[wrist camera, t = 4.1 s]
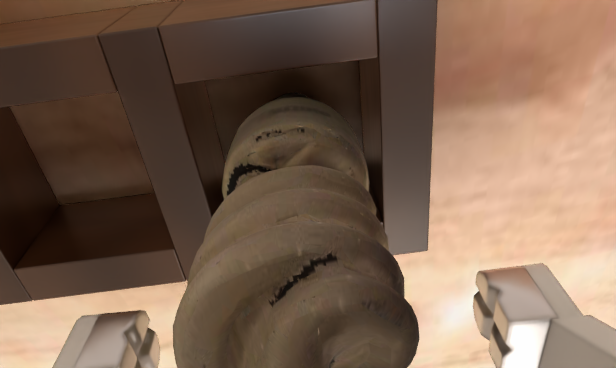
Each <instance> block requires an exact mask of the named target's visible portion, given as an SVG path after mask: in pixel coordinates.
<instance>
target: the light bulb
mask: <svg viewBox="0 0 616 368" xmlns="http://www.w3.org/2000/svg"><path fill="white" fill-rule="evenodd" d="M222 193H223V197H224V201H223V202H222V203H221V205H220V206H219V207H218V209H217V210H216V212H215V213H214V215H213V216H212V218H211V221H210V223H209V225H208V228H207V230H206V234H205V237H204V242H203V244H202V245H201V246H200V248H199V249H198V251H197V253H196V256H195V258H194V261H193V264H192V266H191V269H190V273H189V277H188V285H187V289H186V291H185V293H184V295H183V297H182V300H181V302H180V305H179V308H178V310H177V314H176V317H175V321H174V325H173V348H174V354H175V360H176V364H177V368H407V367H408V366H409V365H410V364H411V362H412V360H413V358H414V356H415V354H416V350H417V346H418V342H419V328H418V322H417V317H416V315H415V313H414V311H413V309H412V307H411V305H410V304H409V303H408V302H407V301H406V300H405V299H404V277H403V275H402V272H401V270H400V267H399V265H398V263H397V261H396V260H395V258H394V257H393V256H392V254H391V253H390V252H389V246H388V237H387V235H386V233H385V230H384V228H383V226H382V224H381V223H380V221H379V220H378V218H377V217H376V210H377V209H376V206H375V204H374V202H373V199H372V197H371V195H370V193H369V176H368V169H367V165H366V160H365V156H364V154H363V151H362V149H361V147H360V145H359V143H358V140H357V138H356V135H355V133H354V131H353V130H352V128H351V126H350V125H349V124H348V122H347V121H346V120H345V118H344V117H343V116H341V115H340V114H339V113H338V112H337V111H335V110H334V109H333V108H332V107H330V106H328V105H326V104H324V103H322V102H320V101H317V100H314V99H311V98H308V97H307V96H306V95H304V94H300V93H289V94H285V95H282V96H281V97H279V98H277V99H275V100H274V101H271V102H268V103H266V104H264V105H263V106H261V107H260V108H258V109H257V110H255V111H254V112H253V113H252V114H250V115H249V116H248V117H247V118H246V120H245V121H244V122H243V123H242V124H241V125H240V126H239V128H238V130H237V133H236V135H235V137H234V139H233V141H232V143H231V146H230V149H229V152H228V155H227V158H226V162H225V167H224V174H223V181H222Z"/></svg>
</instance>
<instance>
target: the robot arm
mask: <svg viewBox="0 0 616 368" xmlns="http://www.w3.org/2000/svg"><path fill="white" fill-rule="evenodd" d="M476 285H477V287H478V289H479V291H478V292H477V293H476V294H475V295H474V301H473V309H474V316H475V320H476V323H477V326H478V329H479V331H480V333H481V335H482V336H484V337H485V338H486V339H488V340H489V341H490V344H489V353H490V355H491V357H492V360H493V362H494V364H495V366H496V368H616V329H614V328H612V327H611V326H609V325H607V324H605V323H603V322H602V321H600V320H598V319H596V318H594V317H593V316H591V315H586V316H583V314H582V313H581V312H580V310H579V309H578V308H577V306H576V305H575V303H574V302H573V301H572V299H571V298H570V297H569V295H568V294H567V293H566V291H565V290H564V289H563V287H562V286H561V284H560V283H559V282H558V280H557V279H556V278H555V276H554V275H553V274H552V272H551V271H550V270H549V268H548V267H547V266H546V265H544V264H543V263H541V264H533V265H525V266H516V267H508V268H500V269H492V270H484V271H479V272H478V274H477V275H476ZM149 321H150V319H149V317H148V315H147V313H146V311H142V310H139V311H127V312H116V313H105V314H98V315H87V316H81V317H80V318H79V319H78V320H77V321H76V322H75V324H74V326H73V328H72V330H71V332H70V334H69V336H68V338H67V340H66V342H65V344H64V346H63V348H62V350H61V352H60V354H59V356H58V358H57V360H56V362H55V363H54V365H53V367H52V368H158V364H159V360H160V345H159V340H158V337H157V335H156V332H154V331H153V330H151V329H149V328H148V324H149Z"/></svg>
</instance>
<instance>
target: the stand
mask: <svg viewBox="0 0 616 368" xmlns="http://www.w3.org/2000/svg"><path fill="white" fill-rule="evenodd" d="M436 26H437V0H184V1H183V0H177V1H170V2H162V3H155V4H147V5H140V6H138V7H136V6H132V7H125V8H117V9H110V10H103V11H95V12H88V13H80V14H73V15H66V16H58V17H51V18H43V19H36V20H29V21H21V22H14V23H6V24H0V305H4V304H12V303H20V302H27V301H32V300H34V301H35V300H42V299H50V298H58V297H66V296H74V295H82V294H90V293H97V292H105V291H113V290H121V289H129V288H137V287H144V286H152V285H160V284H168V283H176V282H184V281H186V280H187V281H188V277H189V273H190V269H191V266H192V264H193V261H194V258H195V256H196V253H197V251H198V249H199V248H200V246H201V245H202V244H203V242H204V237H205V234H206V230H207V228H208V225H209V223H210V221H211V218H212V216H213V215H214V213H215V212H216V210H217V209H218V207H219V206H220V205H221V203H222V202H223V201H224V197H223V193H222V181H223V174H224V167H225V162H224V158H223V154H222V150H221V146H220V142H219V138H218V134H217V130H216V126H215V122H214V118H213V114H212V110H211V106H210V102H209V98H208V94H207V90H206V86H205V82H204V81H205V80H212V79H220V78H227V77H235V76H242V75H250V74H257V73H265V72H273V71H280V70H288V69H295V68H303V67H310V66H318V65H325V64H333V63H340V62H348V61H355V60H359V72H360V90H361V109H362V127H363V146H364V156H365V160H366V165H367V169H368V176H369V193H370V195H371V197H372V199H373V202H374V204H375V206H376V209H377V210H376V217H377V218H378V220H379V221H380V223H381V224H382V226H383V228H384V230H385V233H386V235H387V237H388V246H389V252H390V253H391V254H392V255H398V254H406V253H414V252H421V251H427V250H428V229H429V203H430V178H431V152H432V127H433V102H434V76H435V51H436ZM117 91H118V93H119V95H120V98H121V101H122V104H123V106H124V109H125V112H126V115H127V117H128V120H129V123H130V126H131V128H132V131H133V134H134V137H135V139H136V142H137V145H138V148H139V150H140V153H141V156H142V159H143V161H144V164H145V167H146V170H147V172H148V175H149V178H150V181H151V184H152V186H153V189H154V192H155V193H152V194H144V195H136V196H129V197H121V198H113V199H106V200H98V201H90V202H82V203H75V204H67V205H61V206H59V204H58V202H57V200H56V198H55V196H54V194H53V192H52V190H51V189H50V187H49V185H48V183H47V181H46V179H45V177H44V175H43V173H42V171H41V169H40V167H39V165H38V163H37V161H36V159H35V157H34V155H33V153H32V151H31V149H30V148H29V146H28V144H27V142H26V140H25V138H24V136H23V134H22V132H21V130H20V128H19V126H18V124H17V122H16V120H15V118H14V116H13V114H12V112H11V110H10V108H9V106H17V105H24V104H32V103H39V102H47V101H55V100H62V99H70V98H77V97H85V96H92V95H100V94H107V93H115V92H117Z"/></svg>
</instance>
